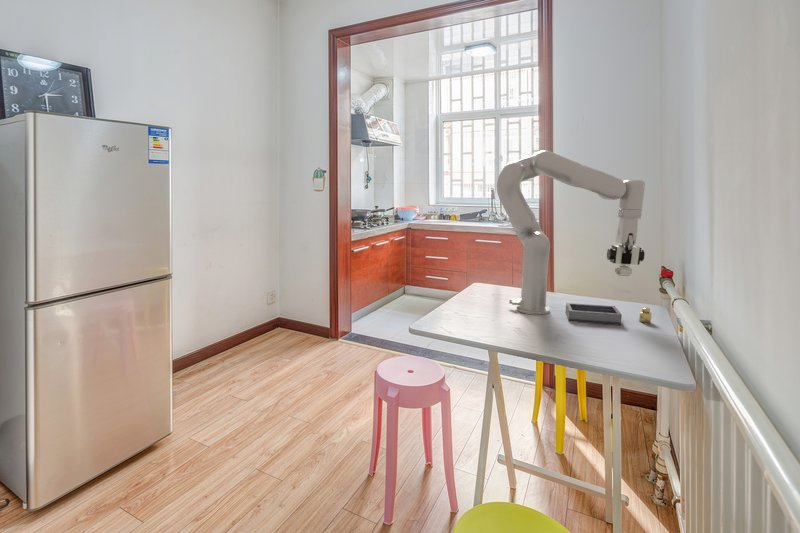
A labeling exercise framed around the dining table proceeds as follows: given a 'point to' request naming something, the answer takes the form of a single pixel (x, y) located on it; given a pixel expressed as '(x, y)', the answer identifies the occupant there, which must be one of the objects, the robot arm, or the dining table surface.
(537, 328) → the dining table surface
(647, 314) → the brass fitting
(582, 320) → the gray rectangular tray
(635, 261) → the pneumatic valve
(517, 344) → the dining table surface
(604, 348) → the dining table surface
